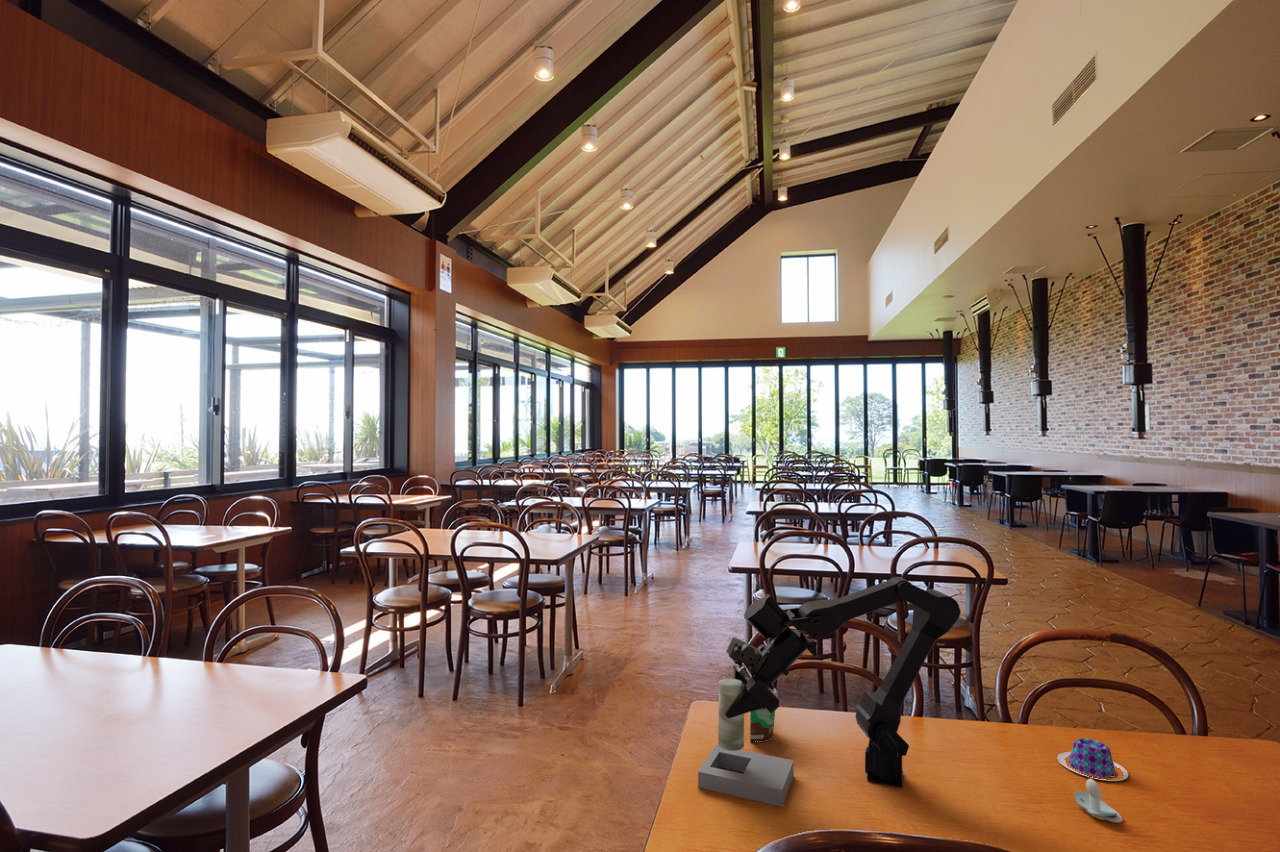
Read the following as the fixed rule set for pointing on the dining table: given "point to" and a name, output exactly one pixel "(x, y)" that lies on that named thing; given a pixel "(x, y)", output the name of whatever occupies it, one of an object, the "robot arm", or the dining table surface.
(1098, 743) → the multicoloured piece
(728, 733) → the peg
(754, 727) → the food container
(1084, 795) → the pacifier
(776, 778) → the pocket board
